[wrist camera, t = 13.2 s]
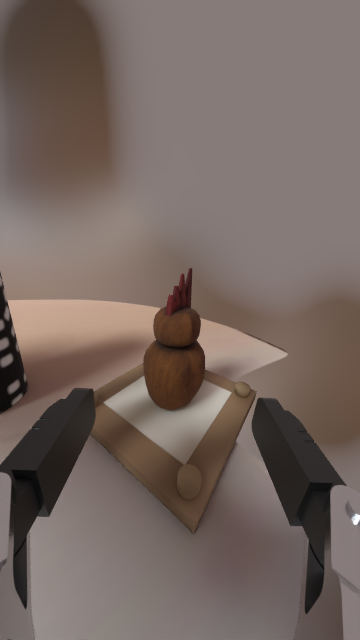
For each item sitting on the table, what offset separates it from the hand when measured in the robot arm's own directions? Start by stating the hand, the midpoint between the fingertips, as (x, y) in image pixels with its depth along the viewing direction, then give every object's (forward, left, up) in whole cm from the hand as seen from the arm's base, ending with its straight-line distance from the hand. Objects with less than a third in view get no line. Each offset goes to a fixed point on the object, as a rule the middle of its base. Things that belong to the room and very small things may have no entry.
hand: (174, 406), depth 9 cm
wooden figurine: (-6, +9, -9) cm, 14 cm away
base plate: (-6, +9, -11) cm, 15 cm away
